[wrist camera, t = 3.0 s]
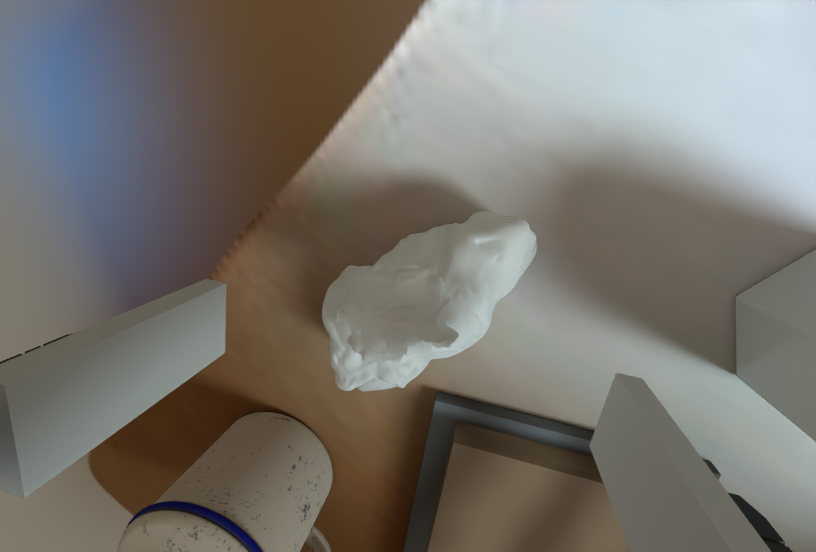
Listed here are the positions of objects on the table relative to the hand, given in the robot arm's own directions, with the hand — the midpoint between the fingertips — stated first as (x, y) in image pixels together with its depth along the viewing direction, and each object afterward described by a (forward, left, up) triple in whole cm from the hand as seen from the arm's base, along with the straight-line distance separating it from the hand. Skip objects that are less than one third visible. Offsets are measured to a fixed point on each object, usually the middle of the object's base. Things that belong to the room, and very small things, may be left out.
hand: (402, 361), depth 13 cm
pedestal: (-9, +16, -10) cm, 21 cm away
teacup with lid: (+8, +17, -10) cm, 21 cm away
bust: (0, 0, -10) cm, 10 cm away
